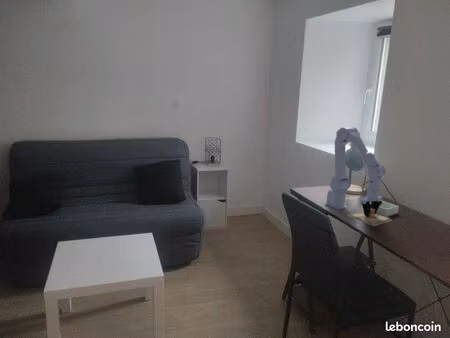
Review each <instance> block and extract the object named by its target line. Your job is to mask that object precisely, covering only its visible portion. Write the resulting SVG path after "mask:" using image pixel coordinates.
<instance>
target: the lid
mask: <svg viewBox="0 0 450 338" xmlns="http://www.w3.org/2000/svg"><path fill="white" fill-rule="evenodd" d="M348 215H349V216H348V217H350V216H351V217H350V218H352V217H354V218H353V219H355V218H357V219H359V220H358V221H360V220H362V221H364V222H363V223H365V222H367V223H369V224H368V225H370V224H372V225H376V224H379V223H382V222H385V221H389V220H391V217H389V216H388V217H385V216H382V215H379V214H375V209H373V208H371V210H370V213H369V216H368V217H367V216H365V215H364V210H363V209H362V210H360V211H356V212H353V213H349V214H348ZM357 219H356V220H357ZM362 221H361V222H362ZM389 222H390V221H389ZM367 223H366V224H367ZM382 224H383V223H382ZM372 225H371V226H372ZM379 225H380V224H379ZM376 226H377V225H376Z"/></svg>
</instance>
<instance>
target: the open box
mask: <svg viewBox="0 0 450 338" xmlns="http://www.w3.org/2000/svg"><path fill="white" fill-rule="evenodd" d="M380 201H382V204H381V205H380V206H379V208H378V210H377V212H376V214H379V215H382V216H385V217H388V218H389V217H391V216H394V215H397V214H398V213H399V208H400V206H399V205H396V204H393V203H391V202H387V201H384V200H380ZM370 204H371V202H370Z"/></svg>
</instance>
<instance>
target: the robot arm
mask: <svg viewBox="0 0 450 338" xmlns="http://www.w3.org/2000/svg"><path fill="white" fill-rule="evenodd" d="M335 134H336V137H335V140H334V174H333V176H332V177H331V180H330V186H329V187H330V189H329V190H327V191H328V192H327V196H326V202H325V205H326V206H328V207H332V208H335V209H337V210H341V209H344V208H345V209H346V208H348V206H347V205H346V198H347V197H346V196H347V191H348V189H350V187H351V183H350V178H349V177H350V176H349V175H347V174H346V173H347V171H346V170H347V169H346V165H347V164H346V145H347V144H349V143H352V144H353V145H354V146H355V148H356V150H357V151H358V152H359V154H361V159H360V160H362V162H363V164H364V165H365V167H366V168H367V175H368V183H367V190H366V196H364V197H363V198H362V199H361V201H360V204H361V206H362V208H363V209H362V211H363V210H364V215H365V216H367V217H368V216H369V213H370V210H371V208H373V209H375V214H376V212H377V210H378V208H379V206H380V205H381V204H382V201H383V198H384V196H383V195H381V194H380V193H381V185H382V180H383V176H385V174H386V169H385V166H383V165H382V164H380V162H378V160H377V159H376V157H375V154H374V153H372V152H370V151H368V148H367V147H366V145H365V144H364V143H365V142H363V140H362V138H361V133H360V131H358V128H357V127H356V126H355V127H354V126H352V127H340V128H338V130H337V131H336V133H335ZM380 200H381V201H380ZM370 202H371V204H370Z"/></svg>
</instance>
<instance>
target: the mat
mask: <svg viewBox="0 0 450 338" xmlns="http://www.w3.org/2000/svg"><path fill="white" fill-rule="evenodd" d="M346 216H348V217H350V218H353V219H355V220H357V221H360V222H363V223H365V224H367V225H369V226H370V225H371V226H373V227H375V226H379V225H382V224H386V223H388V222H391V221H393V220H392V219H390V220H389V221H385V222H382V223H379V224H376V225H372V224H369V223H367V222H364V221H362V220H359V219H357V218H354V217H351V216H349V214H347V215H346Z"/></svg>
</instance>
